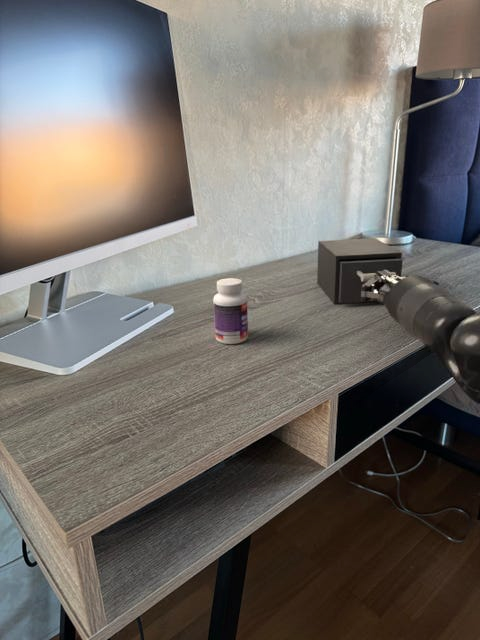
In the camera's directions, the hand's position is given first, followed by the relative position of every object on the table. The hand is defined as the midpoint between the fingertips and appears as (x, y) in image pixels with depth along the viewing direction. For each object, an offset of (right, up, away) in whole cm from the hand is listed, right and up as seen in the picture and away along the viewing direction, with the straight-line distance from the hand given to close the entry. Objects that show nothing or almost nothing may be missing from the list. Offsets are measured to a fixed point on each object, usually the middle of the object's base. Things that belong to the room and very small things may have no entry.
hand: (379, 276), depth 79 cm
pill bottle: (-26, -11, -5) cm, 29 cm away
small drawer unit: (-1, -2, +15) cm, 15 cm away
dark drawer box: (0, -3, +11) cm, 11 cm away
